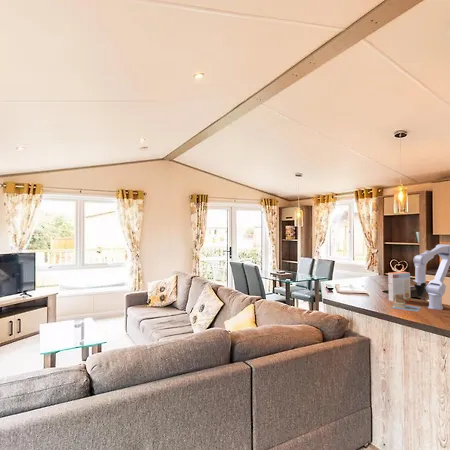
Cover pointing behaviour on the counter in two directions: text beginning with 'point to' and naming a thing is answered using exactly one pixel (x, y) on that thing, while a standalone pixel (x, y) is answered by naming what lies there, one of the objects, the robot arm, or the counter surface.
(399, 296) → the walnut block
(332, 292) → the counter surface
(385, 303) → the counter surface
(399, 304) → the beech slab
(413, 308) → the building mat
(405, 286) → the cracker box
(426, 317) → the counter surface
